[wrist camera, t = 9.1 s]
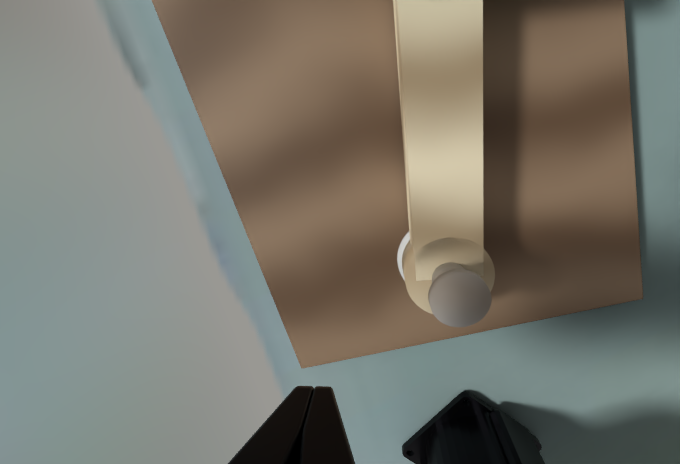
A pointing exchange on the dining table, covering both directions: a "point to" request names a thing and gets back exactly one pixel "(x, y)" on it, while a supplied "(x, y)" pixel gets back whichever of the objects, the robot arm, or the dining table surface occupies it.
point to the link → (444, 157)
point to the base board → (389, 168)
